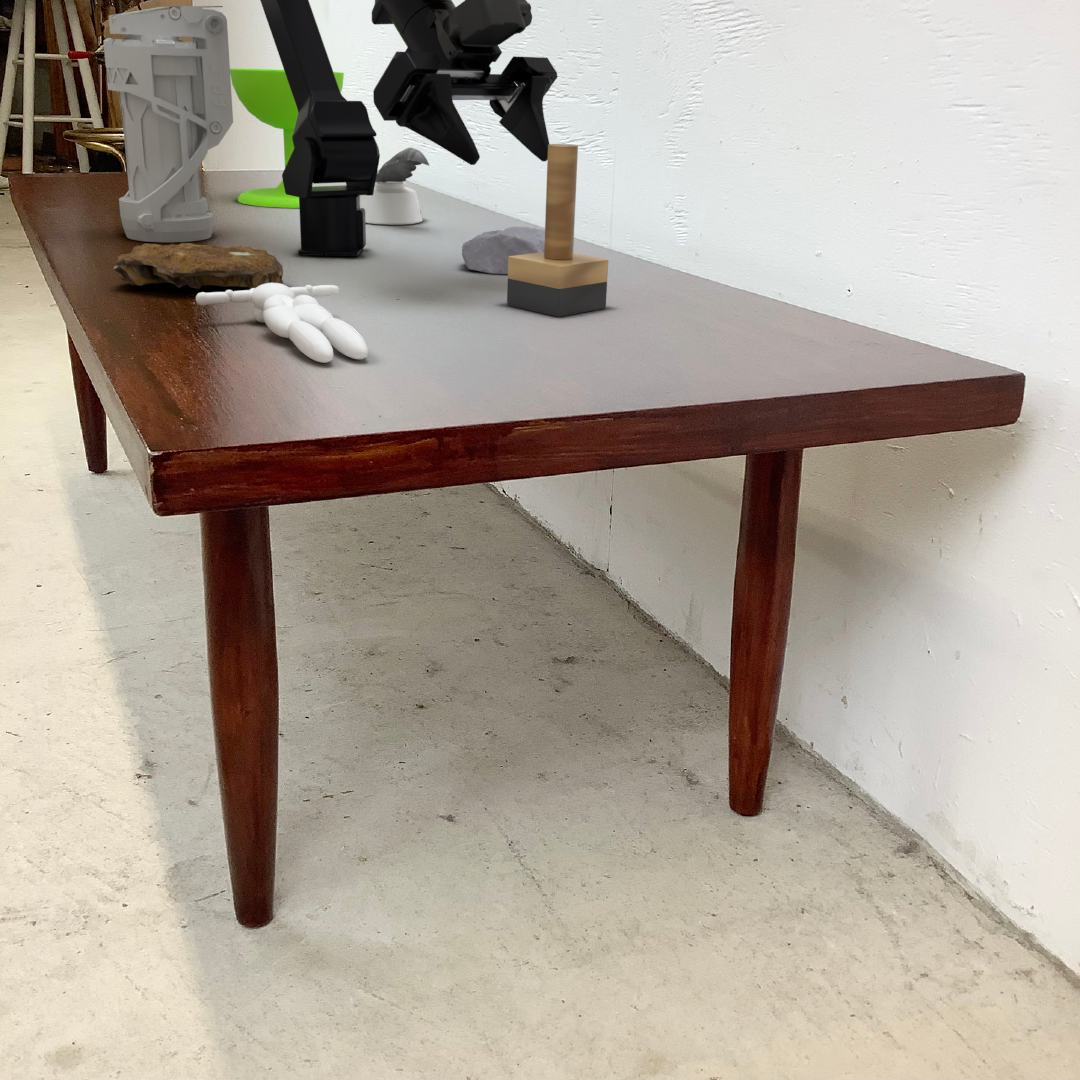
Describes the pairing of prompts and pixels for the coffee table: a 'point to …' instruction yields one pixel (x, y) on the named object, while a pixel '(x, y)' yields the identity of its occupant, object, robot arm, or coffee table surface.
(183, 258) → the decorative rock
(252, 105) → the wineglass
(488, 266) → the stone block
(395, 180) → the inkwell
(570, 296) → the rubber stamp
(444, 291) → the coffee table surface
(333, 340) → the decorative figure
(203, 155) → the grey mechanical model
